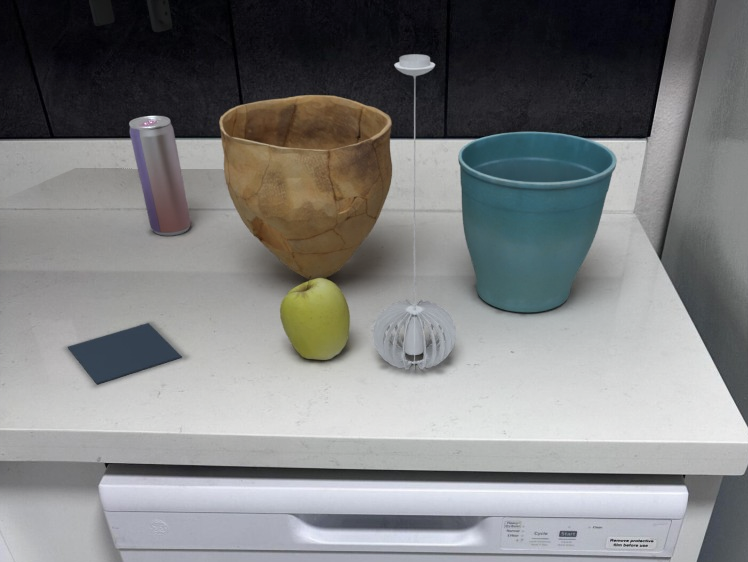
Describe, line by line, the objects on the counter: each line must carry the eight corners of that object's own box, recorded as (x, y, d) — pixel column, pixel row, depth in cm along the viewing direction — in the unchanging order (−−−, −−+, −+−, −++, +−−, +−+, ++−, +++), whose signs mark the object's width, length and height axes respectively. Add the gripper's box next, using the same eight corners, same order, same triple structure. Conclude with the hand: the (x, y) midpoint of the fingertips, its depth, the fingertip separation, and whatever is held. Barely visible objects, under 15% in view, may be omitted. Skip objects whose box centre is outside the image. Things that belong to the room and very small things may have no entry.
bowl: (418, 262, 110) (419, 103, 96) (351, 325, 96) (341, 151, 83) (289, 238, 116) (273, 87, 103) (209, 295, 103) (179, 128, 89)
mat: (67, 348, 93) (67, 346, 92) (148, 324, 97) (148, 322, 97) (96, 384, 86) (96, 383, 86) (181, 357, 91) (181, 356, 91)
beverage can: (144, 234, 118) (118, 125, 108) (165, 220, 122) (142, 113, 112) (178, 238, 116) (156, 128, 106) (199, 224, 121) (179, 117, 111)
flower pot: (591, 333, 94) (616, 186, 83) (442, 320, 97) (447, 176, 85) (595, 270, 107) (617, 135, 96) (463, 260, 110) (469, 128, 98)
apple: (374, 338, 91) (350, 266, 83) (325, 381, 89) (296, 311, 81) (330, 316, 96) (303, 246, 88) (282, 356, 93) (250, 288, 85)
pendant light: (356, 358, 90) (340, 58, 70) (413, 330, 95) (414, 42, 75) (414, 389, 85) (415, 75, 65) (471, 358, 90) (489, 57, 70)
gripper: (18, -147, 91) (62, 27, 103) (134, -146, 85) (167, 38, 97) (66, -149, 96) (103, 17, 107) (178, -148, 90) (205, 27, 101)
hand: (133, 27), depth 102 cm, fingers open, 9 cm apart
